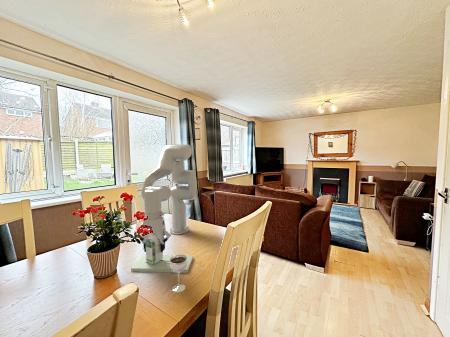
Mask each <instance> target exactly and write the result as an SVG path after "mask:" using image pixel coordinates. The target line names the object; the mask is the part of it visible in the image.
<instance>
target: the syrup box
mask: <svg viewBox="0 0 450 337" xmlns="http://www.w3.org/2000/svg"><path fill="white" fill-rule="evenodd" d="M160 245H161V242H160V240H159V239H157V238H156V233H152V234H149V236H148V239H146V252H145V255H146V262H149V263H152V264H156V263H157V262H159V261H160V260H162V259H163V255H164V253H163V252H164V251H163V252H161V249H160Z"/></svg>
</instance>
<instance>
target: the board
mask: <svg viewBox="0 0 450 337" xmlns="http://www.w3.org/2000/svg"><path fill="white" fill-rule="evenodd" d="M173 256H175V254H169V255H168V254H163V259H162V260H160V261H159V262H157V263H156V264H152V263H149V262H146V254H142V255H141V257H140V258H139V259H138V260H137V261H136V262H135V263H134V264H133V266H131V268H130V272H138V273H139V272H141V273H143V272H144V273H146V272H147V273H174V272H173V271H172V270H171V269H170V258H171V257H173ZM185 256H186V257H187V267H186V269H185V270H184V271H183V272H181V273H182V274H183V273H185V274H187V273H188V272H189V271H190V267H191V266H192V263H193V259H194V255H185ZM181 273H180V274H181Z"/></svg>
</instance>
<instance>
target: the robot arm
mask: <svg viewBox="0 0 450 337" xmlns="http://www.w3.org/2000/svg"><path fill="white" fill-rule="evenodd" d="M192 154H193V149H192V146H191V145H190V144H174V143H173V144H168V145H167V144H166V145H165V146H164V147H163V148H162V150H161V153H160V156H159V160H158V163H157V167H156V168H155V169H154V170H153V171H151V172H150V173H149V174H148V175H147V177H146V178H145V180H144V182H143V185H142V189H141V198H142V199H143V202H144V203H143V204H144V218H147V216H148V219H147V220H145V221H143V220H142V226H143V225H148V226H151V227H152V230H153V233H156V238H157V239H159V240H160V242H161V245H160V249H161V252H164V251H165V249H166V242H167V241H168V240H169V239H170V237H171V236H172V235H184V234H186V233H188V232H189V231H190V230H189V229H190V228H189V227H188V226H187V204H186V203H185V201H186V200H187V201H193V200H195V199H196V197H197V177H196V176H197V175H196V172H195V171H194V170H192V169H185V161H186V160H188V159H190V157H191V156H192ZM170 175H171V181H172V183H173V184H176V185H174V186H172V187H171V188H170V187H169V186H166V185H154V184H155V183H156V182H157V181H159V180H161V179H164V178H165V177H168V176H170ZM169 199H170V201H171V220H172V221H171V224H172V225H171V228H170V230H169V232H168V231H167V230H166V223H165V218H164V216H165V212H163V210H162V202H166V201H168V200H169ZM149 234H152V233H149ZM149 234H147V235H145V236H143V237H142V238H138V239H139V240H140V241H141V243H142V244H143V252H144V253H146V239H148V236H149ZM165 236H166V237H165Z"/></svg>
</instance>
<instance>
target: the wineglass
mask: <svg viewBox="0 0 450 337" xmlns="http://www.w3.org/2000/svg"><path fill="white" fill-rule="evenodd" d="M174 255H175V254H174ZM186 256H187V255H185V254H176V255H175V256H173V257H171V258H170V269H171V270H172V271H173V272H172V273H173V274H177V284H175V285H174V286H173V287H172V291H173V292H174V293H182V292H183V291H184V290H186V285H185V284H183V283H180V281H181V280H180V279H181V278H180V276H181V272H183V271H184V270H185V269H186V267H187V257H186Z"/></svg>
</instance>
